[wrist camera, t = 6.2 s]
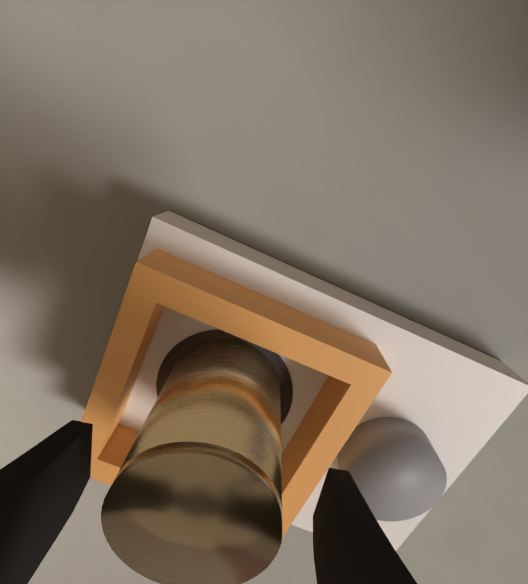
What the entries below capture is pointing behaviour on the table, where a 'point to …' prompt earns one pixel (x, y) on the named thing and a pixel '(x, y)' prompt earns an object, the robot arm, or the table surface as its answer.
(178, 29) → the table surface
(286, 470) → the white fixture board
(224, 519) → the bead tin
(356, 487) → the robot arm
